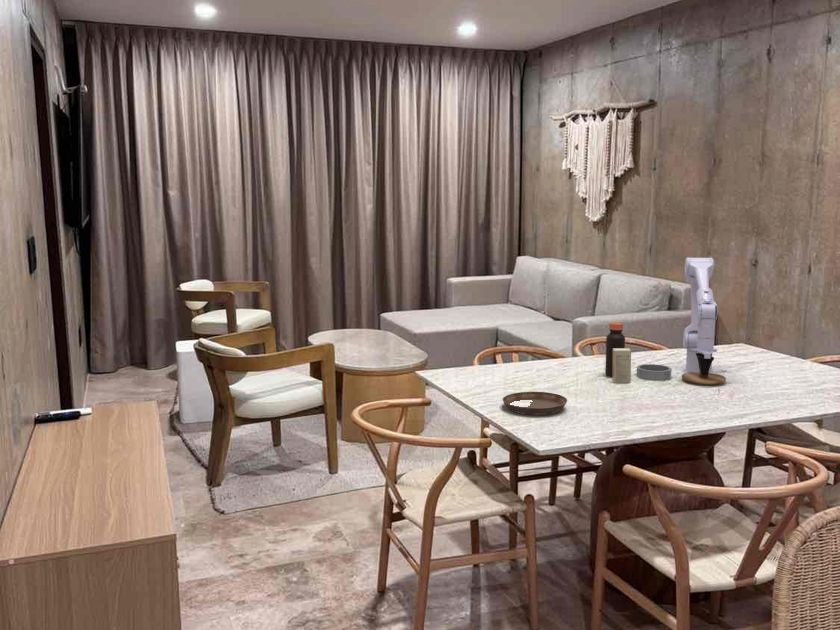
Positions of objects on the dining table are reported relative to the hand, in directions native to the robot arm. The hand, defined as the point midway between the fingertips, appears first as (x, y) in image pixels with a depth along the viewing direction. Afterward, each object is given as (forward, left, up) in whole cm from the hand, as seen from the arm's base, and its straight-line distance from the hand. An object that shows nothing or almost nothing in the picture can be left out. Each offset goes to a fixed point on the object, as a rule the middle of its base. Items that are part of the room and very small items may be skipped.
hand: (703, 374), depth 283 cm
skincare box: (+23, -18, -4) cm, 29 cm away
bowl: (+9, -15, -3) cm, 18 cm away
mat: (0, 0, -3) cm, 3 cm away
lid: (0, 0, -2) cm, 2 cm away
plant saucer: (+72, -9, -4) cm, 73 cm away
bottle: (+18, -26, -4) cm, 32 cm away
